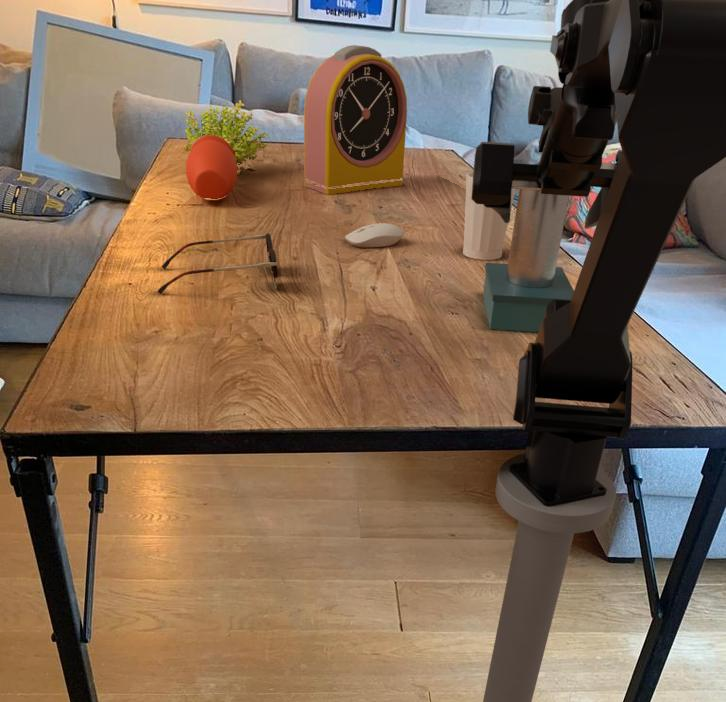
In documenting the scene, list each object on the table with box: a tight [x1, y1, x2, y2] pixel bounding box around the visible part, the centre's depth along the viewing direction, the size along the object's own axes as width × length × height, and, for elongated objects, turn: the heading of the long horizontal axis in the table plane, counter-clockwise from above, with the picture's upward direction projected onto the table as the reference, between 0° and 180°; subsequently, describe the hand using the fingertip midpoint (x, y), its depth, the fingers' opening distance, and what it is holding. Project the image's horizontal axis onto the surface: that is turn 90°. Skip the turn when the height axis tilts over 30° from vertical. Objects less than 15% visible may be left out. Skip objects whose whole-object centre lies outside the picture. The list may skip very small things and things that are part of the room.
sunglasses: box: [157, 233, 279, 294], centre depth 102 cm, size 14×16×5 cm
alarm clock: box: [303, 44, 408, 195], centre depth 152 cm, size 21×9×26 cm, turn 128°
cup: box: [462, 171, 517, 261], centre depth 116 cm, size 8×8×12 cm
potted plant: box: [183, 99, 269, 202], centre depth 154 cm, size 19×14×45 cm
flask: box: [506, 163, 570, 288], centre depth 90 cm, size 6×6×14 cm
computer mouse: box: [344, 222, 405, 248], centre depth 121 cm, size 6×10×3 cm, turn 112°
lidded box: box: [482, 262, 575, 333], centre depth 95 cm, size 13×11×4 cm
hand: (546, 222), depth 85 cm, fingers open, 9 cm apart
